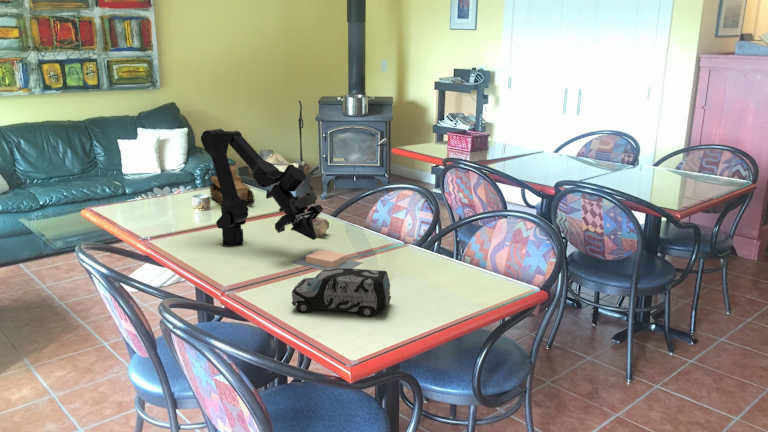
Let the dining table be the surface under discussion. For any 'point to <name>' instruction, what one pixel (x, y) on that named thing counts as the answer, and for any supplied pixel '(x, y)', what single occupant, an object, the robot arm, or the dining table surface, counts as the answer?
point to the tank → (240, 188)
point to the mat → (302, 261)
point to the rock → (320, 226)
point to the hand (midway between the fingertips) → (315, 238)
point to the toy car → (344, 291)
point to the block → (326, 259)
